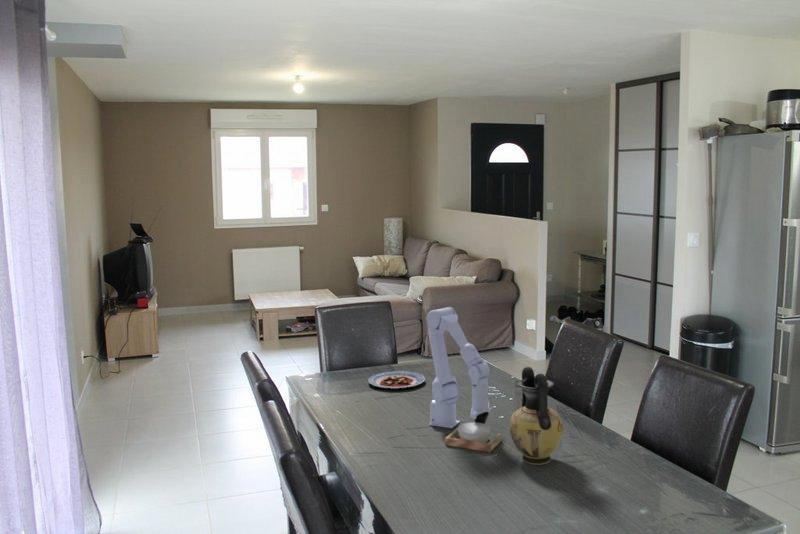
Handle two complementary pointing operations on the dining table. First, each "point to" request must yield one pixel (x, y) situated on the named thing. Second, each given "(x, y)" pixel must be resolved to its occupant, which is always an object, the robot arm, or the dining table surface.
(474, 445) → the dock
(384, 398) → the dining table surface
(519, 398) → the coffee box
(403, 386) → the ceramic plate
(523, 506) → the dining table surface
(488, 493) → the dining table surface
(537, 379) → the amphora
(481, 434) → the ramekin
